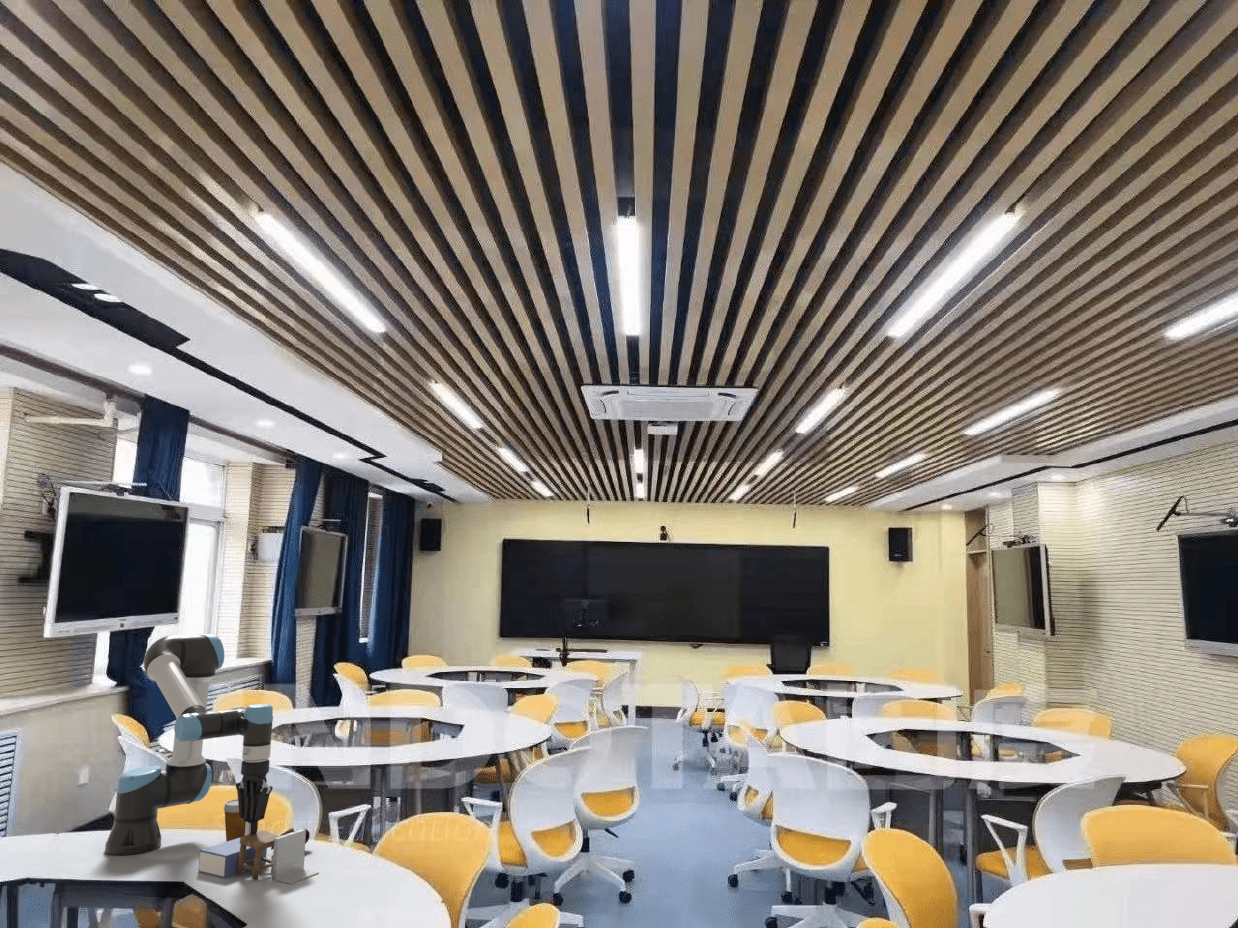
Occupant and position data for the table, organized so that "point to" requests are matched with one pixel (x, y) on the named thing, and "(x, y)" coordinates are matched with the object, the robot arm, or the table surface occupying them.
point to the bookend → (290, 858)
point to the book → (224, 858)
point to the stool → (259, 843)
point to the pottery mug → (294, 831)
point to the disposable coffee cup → (233, 821)
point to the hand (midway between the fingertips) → (249, 844)
